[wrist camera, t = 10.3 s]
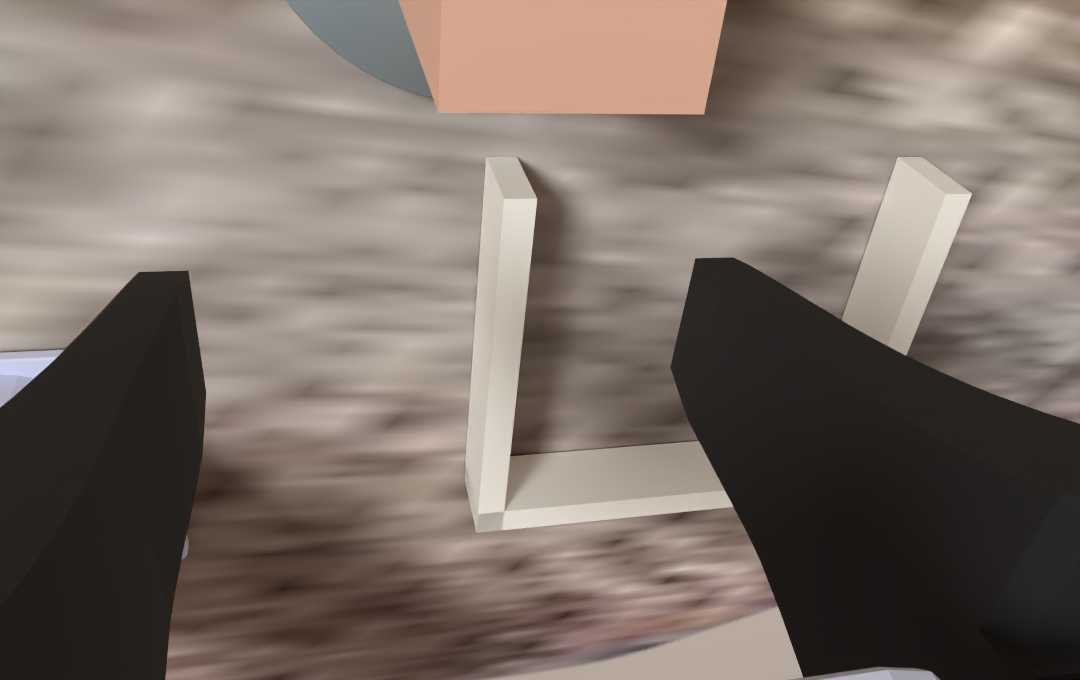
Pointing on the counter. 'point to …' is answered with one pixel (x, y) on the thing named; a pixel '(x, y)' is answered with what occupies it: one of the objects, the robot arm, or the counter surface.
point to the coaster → (367, 38)
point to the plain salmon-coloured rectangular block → (567, 54)
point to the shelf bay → (675, 468)
